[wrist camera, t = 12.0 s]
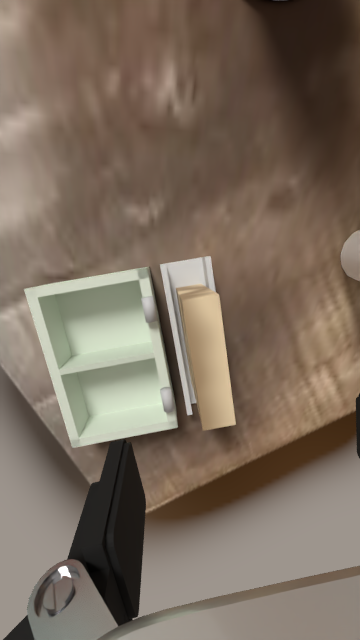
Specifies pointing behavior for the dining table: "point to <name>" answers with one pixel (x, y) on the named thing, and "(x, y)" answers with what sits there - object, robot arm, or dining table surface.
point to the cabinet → (115, 349)
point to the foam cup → (351, 256)
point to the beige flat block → (206, 355)
